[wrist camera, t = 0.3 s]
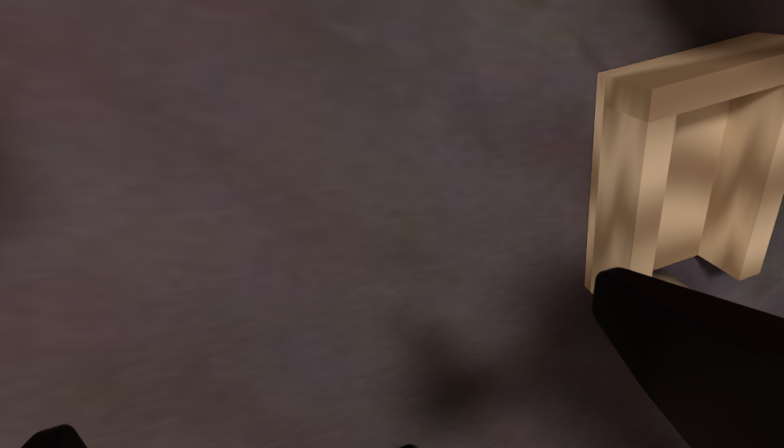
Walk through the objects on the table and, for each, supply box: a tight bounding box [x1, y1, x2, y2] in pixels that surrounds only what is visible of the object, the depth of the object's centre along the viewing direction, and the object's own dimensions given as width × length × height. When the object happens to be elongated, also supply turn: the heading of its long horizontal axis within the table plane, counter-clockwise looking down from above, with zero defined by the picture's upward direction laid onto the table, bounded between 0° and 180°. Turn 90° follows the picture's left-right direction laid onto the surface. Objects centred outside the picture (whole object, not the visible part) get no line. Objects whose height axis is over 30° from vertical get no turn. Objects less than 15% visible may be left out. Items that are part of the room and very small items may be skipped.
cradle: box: [584, 32, 784, 294], centre depth 26 cm, size 14×10×4 cm
